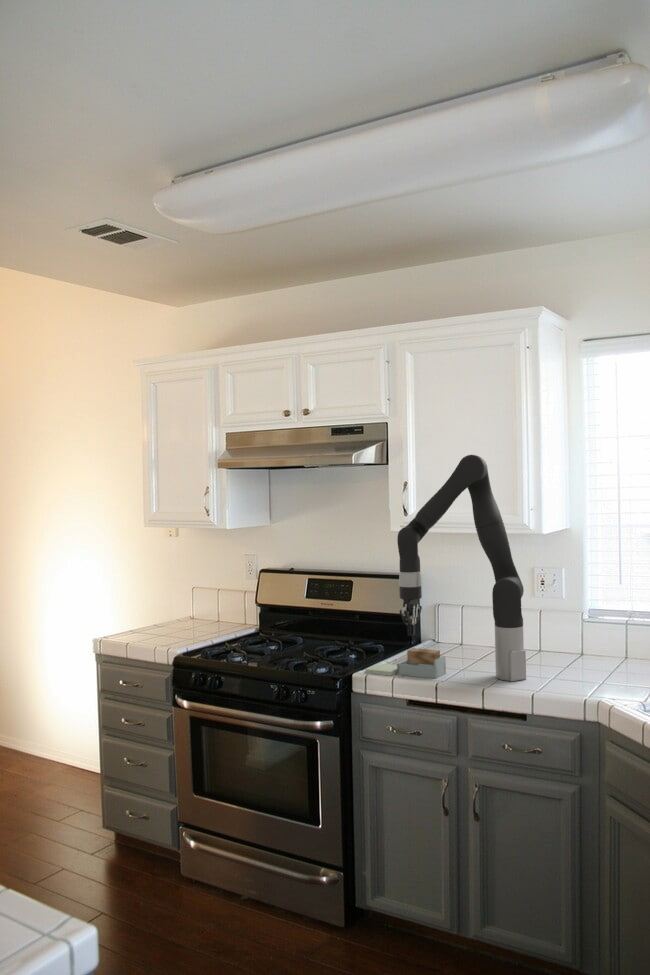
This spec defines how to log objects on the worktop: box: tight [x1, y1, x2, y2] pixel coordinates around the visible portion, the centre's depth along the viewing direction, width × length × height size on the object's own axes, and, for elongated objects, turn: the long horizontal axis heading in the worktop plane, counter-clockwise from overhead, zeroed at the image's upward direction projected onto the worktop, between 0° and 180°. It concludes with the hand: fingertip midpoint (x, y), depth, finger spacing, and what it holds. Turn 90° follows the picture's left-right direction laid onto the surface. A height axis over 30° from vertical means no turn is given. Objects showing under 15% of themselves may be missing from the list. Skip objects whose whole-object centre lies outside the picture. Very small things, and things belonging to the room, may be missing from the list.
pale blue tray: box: [396, 655, 447, 679], centre depth 285 cm, size 14×8×6 cm, turn 59°
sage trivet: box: [364, 663, 397, 676], centre depth 290 cm, size 10×10×1 cm
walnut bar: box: [406, 647, 441, 665], centre depth 284 cm, size 10×4×4 cm, turn 59°
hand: (411, 635), depth 286 cm, fingers closed
